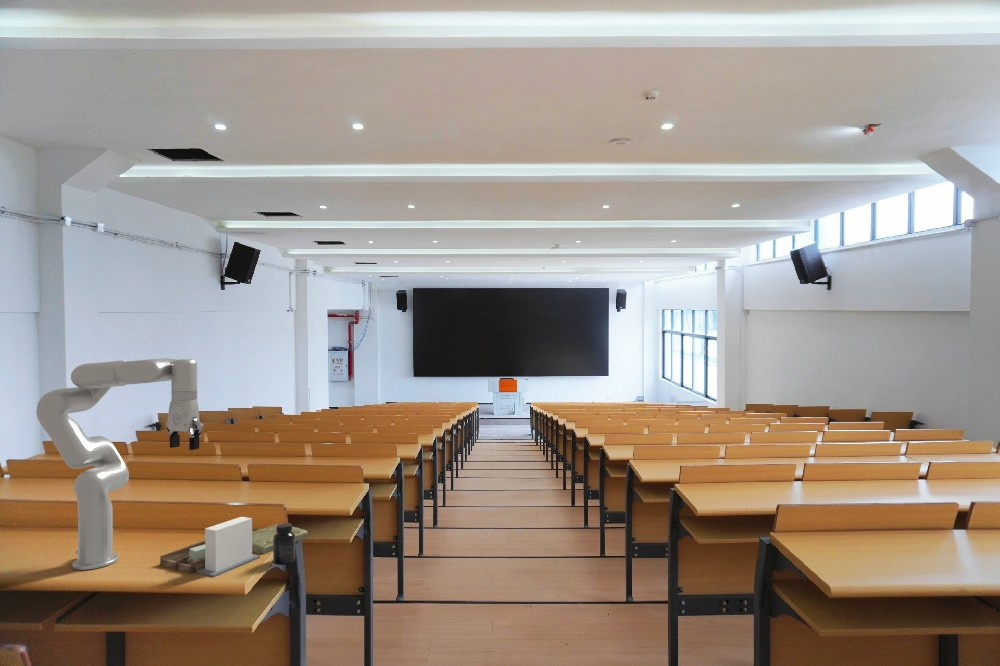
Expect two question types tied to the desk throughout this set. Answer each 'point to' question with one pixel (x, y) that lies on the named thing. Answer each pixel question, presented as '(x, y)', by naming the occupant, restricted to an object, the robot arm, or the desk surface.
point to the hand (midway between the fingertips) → (184, 448)
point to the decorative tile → (271, 538)
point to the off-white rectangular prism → (228, 543)
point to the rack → (182, 560)
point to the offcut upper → (197, 552)
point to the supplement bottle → (284, 544)
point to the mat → (213, 574)
